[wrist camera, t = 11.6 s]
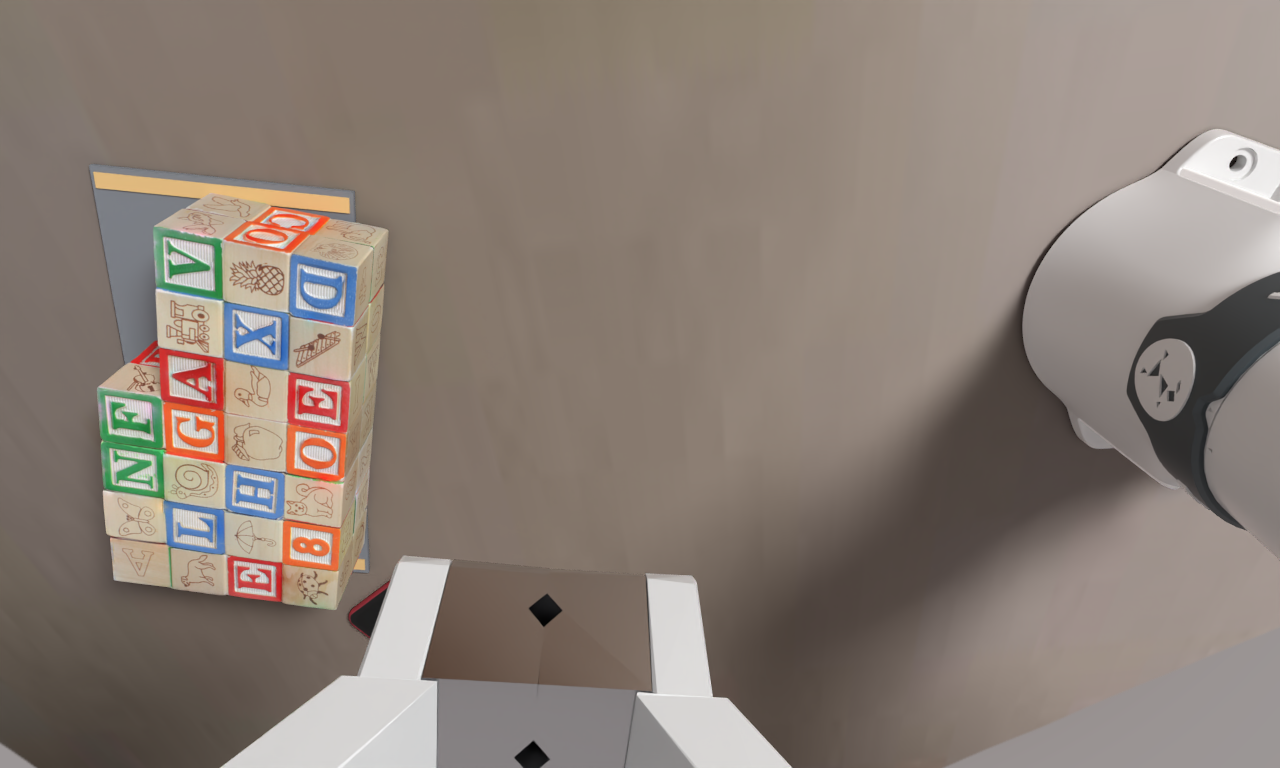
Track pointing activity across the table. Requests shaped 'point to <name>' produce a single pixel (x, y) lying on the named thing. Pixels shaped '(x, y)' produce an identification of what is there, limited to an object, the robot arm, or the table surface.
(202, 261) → the stack of blocks
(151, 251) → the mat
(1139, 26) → the table surface
